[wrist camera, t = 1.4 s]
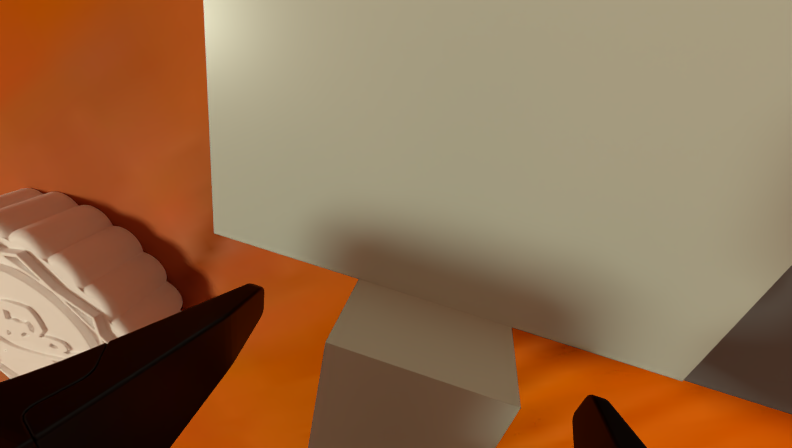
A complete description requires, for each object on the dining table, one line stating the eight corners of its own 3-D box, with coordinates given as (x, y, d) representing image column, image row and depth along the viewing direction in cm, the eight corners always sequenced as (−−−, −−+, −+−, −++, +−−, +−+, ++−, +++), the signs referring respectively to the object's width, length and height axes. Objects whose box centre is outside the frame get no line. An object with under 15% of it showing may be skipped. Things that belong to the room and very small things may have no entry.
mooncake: (174, 397, 22) (124, 454, 19) (2, 303, 22) (-79, 346, 19) (216, 271, 17) (154, 323, 13) (-17, 137, 16) (-140, 159, 13)
